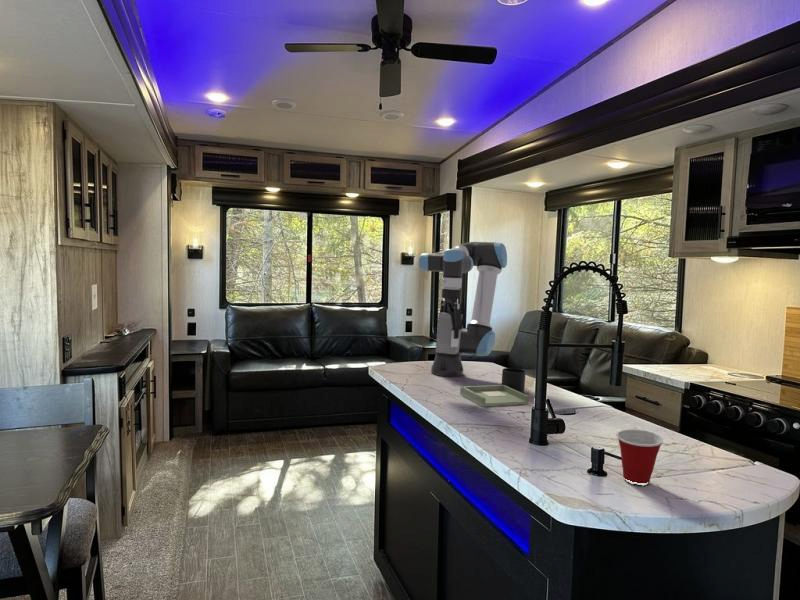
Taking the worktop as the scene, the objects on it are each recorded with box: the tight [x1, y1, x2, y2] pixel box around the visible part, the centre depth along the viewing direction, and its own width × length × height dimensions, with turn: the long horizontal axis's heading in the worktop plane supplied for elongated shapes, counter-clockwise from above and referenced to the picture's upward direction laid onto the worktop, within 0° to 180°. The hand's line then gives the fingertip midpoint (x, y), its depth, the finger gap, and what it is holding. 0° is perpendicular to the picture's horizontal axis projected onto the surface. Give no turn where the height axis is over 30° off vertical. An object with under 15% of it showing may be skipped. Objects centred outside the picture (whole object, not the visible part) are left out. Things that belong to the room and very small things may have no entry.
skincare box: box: [435, 312, 464, 354], centre depth 213 cm, size 8×7×16 cm
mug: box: [501, 367, 527, 394], centre depth 224 cm, size 9×12×9 cm
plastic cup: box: [615, 428, 664, 483], centre depth 134 cm, size 11×11×12 cm
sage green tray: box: [459, 384, 530, 408], centre depth 209 cm, size 18×20×3 cm
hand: (448, 344), depth 214 cm, fingers closed on skincare box, 10 cm apart
